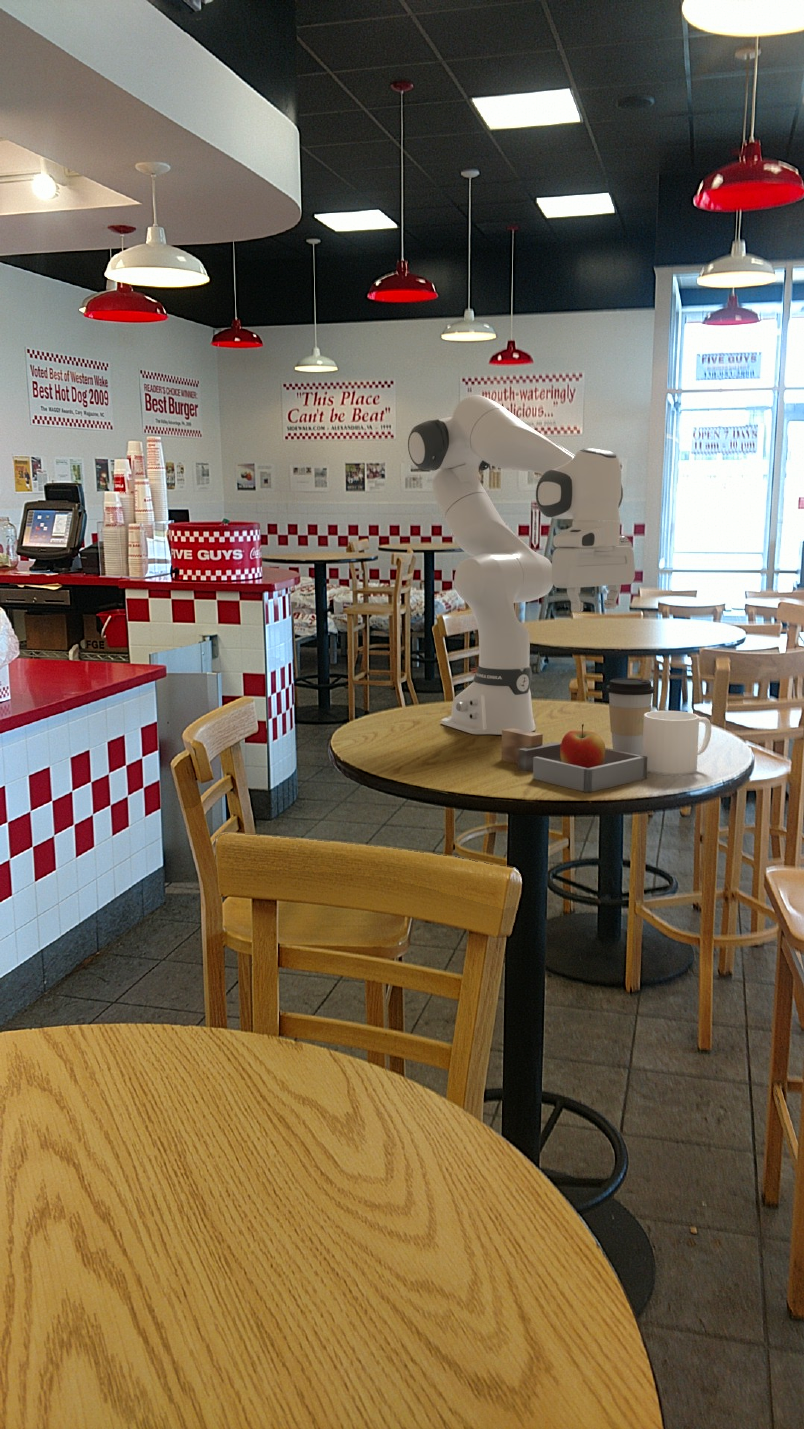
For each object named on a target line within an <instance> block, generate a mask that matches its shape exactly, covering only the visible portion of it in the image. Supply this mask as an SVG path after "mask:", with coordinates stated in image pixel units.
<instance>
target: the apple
mask: <svg viewBox="0 0 804 1429" xmlns="http://www.w3.org/2000/svg"><path fill="white" fill-rule="evenodd" d="M560 743H561V746H560V757H561V761H562V762H563V763H568V764H572V765H576V766H581V767H585V768H591V767H596V766H600V765H602V764H603V761H604V758H605V748H606V744H605V741H604V740H603V738H602V737H601V735H598V734H597V733H595V732H593V731H588V730H584V723H582V724H581V730H570V731H568V732H567V733H565V735H564V736H563V737H562V740H561V742H560Z"/></svg>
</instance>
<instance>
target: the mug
mask: <svg viewBox="0 0 804 1429" xmlns="http://www.w3.org/2000/svg"><path fill="white" fill-rule="evenodd" d="M700 722H702V723H704V727H705V728H704V730H705V731H704V737H703V739H702V742H701V744H700V746H699V731H700ZM711 735H712V723H711V721H710V719H708V718H707V717H706V716H700V715H698V714H696V713H692V712H687V711H679V710H655V711H654V710H652V711H651V712H647V713H645V714H644V727H643V753H642V756H646V757H647V773H651V774H656V775H661V776H662V775H663V776H687V775H691V774H694V773H696V772H697V770H698V756H700V755H702V754H703V753H704V752H705V751H706V749H707V748H708V746H709V744H710V741H711Z"/></svg>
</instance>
